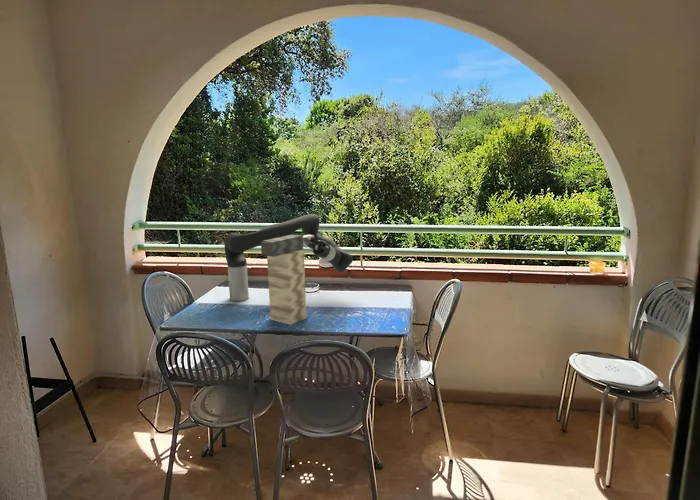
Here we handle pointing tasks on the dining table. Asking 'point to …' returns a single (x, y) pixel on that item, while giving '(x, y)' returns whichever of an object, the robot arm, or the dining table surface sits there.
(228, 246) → the robot arm
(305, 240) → the light grey bar
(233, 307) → the dining table surface
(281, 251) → the stand
